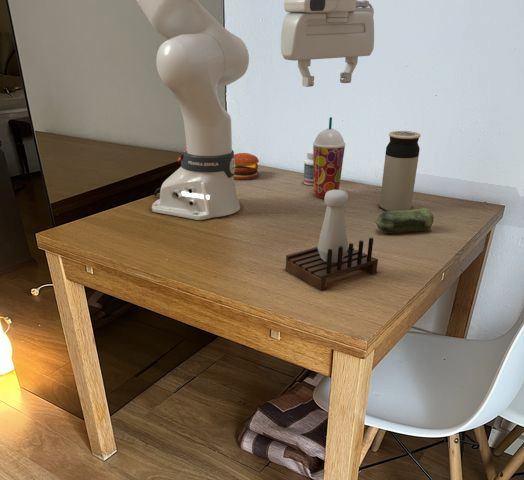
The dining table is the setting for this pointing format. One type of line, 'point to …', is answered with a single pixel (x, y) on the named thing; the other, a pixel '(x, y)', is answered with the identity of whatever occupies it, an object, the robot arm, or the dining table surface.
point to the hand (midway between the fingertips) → (327, 84)
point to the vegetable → (405, 220)
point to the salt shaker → (334, 225)
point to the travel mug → (399, 170)
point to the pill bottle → (309, 169)
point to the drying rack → (329, 264)
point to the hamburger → (245, 166)
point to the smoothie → (327, 160)
